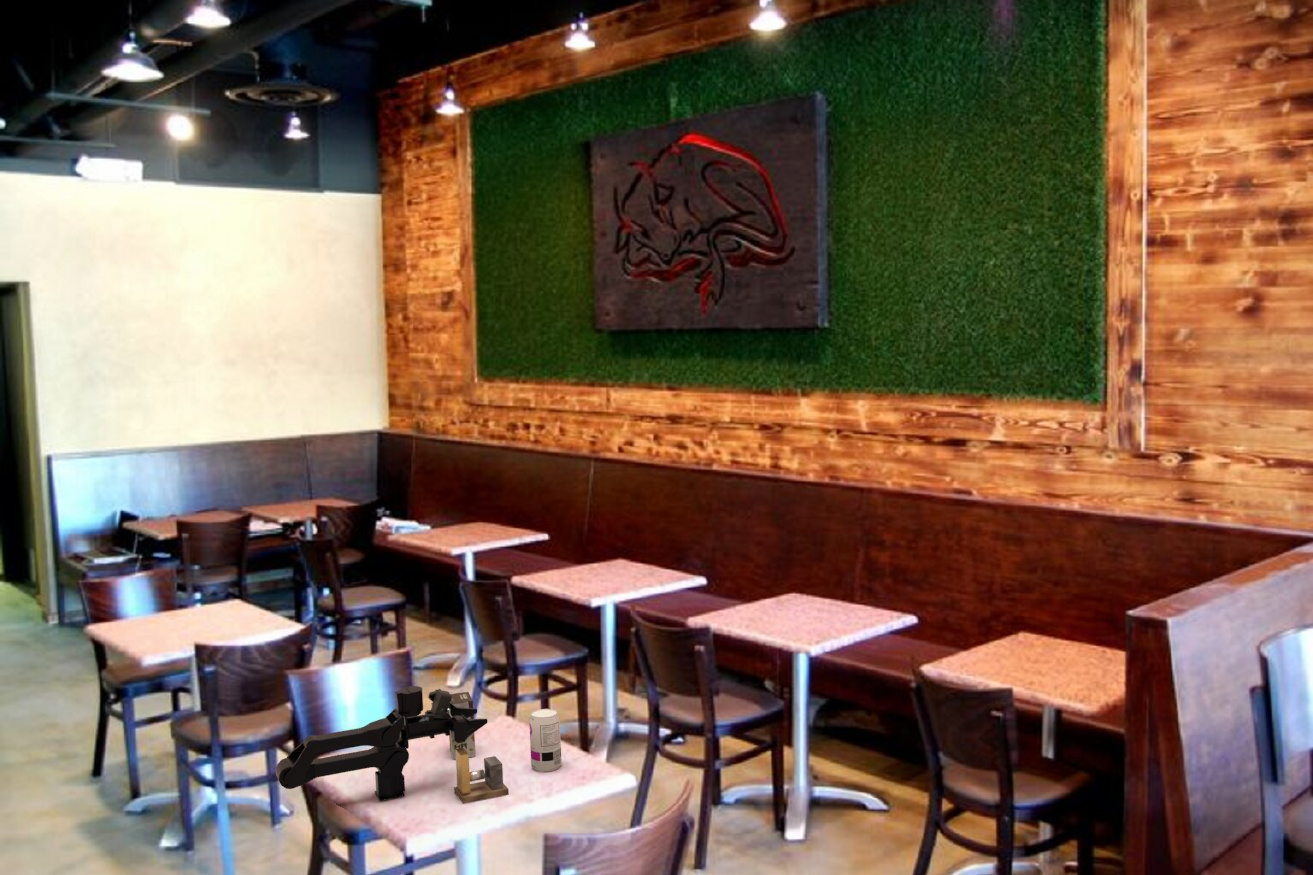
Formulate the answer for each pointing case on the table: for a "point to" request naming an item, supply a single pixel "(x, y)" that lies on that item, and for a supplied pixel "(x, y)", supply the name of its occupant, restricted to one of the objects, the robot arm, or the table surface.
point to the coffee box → (467, 702)
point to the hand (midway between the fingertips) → (482, 715)
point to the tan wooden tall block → (465, 771)
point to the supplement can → (545, 740)
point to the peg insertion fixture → (486, 783)
